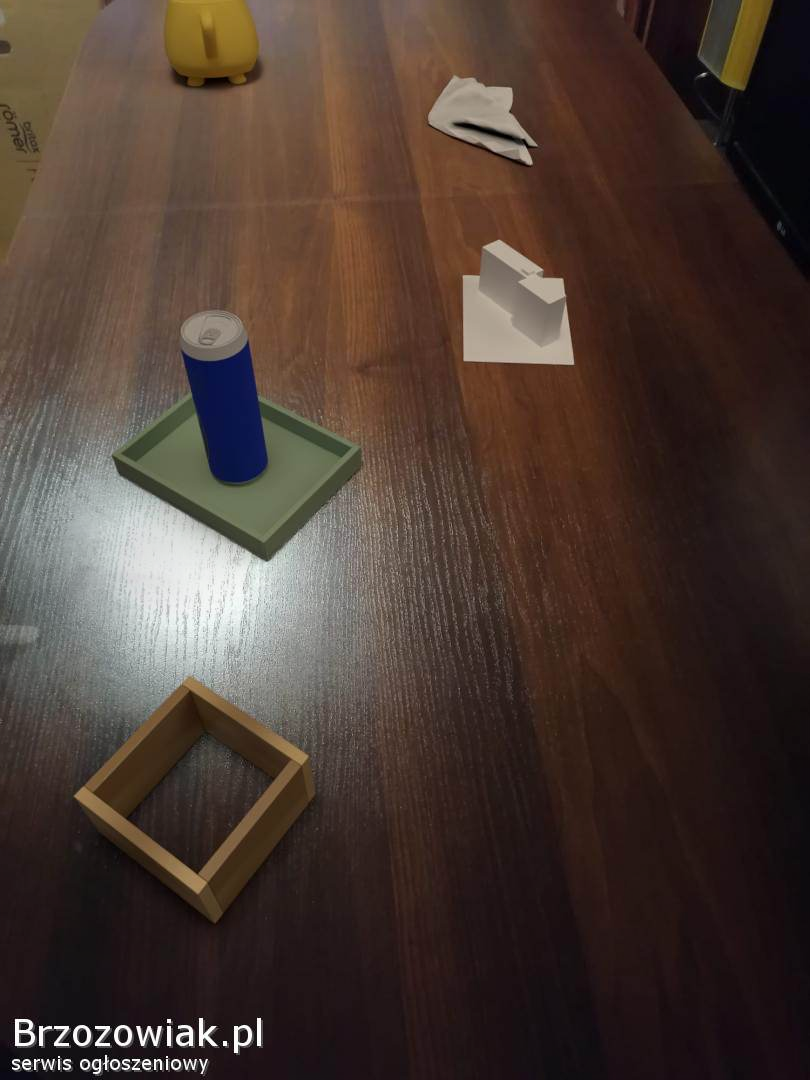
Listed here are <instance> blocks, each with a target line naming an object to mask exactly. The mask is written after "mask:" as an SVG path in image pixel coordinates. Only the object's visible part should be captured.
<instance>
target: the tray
mask: <svg viewBox="0 0 810 1080" xmlns="http://www.w3.org/2000/svg"><path fill="white" fill-rule="evenodd" d="M257 395H258V401H259V407H260V413H261V419H262V425H263V432H264V438H265V444H266V450H267V456H268V463H267V466H266V468H265V469H264V471H263V472H262V473H261V474H260V475H259V476H258V477H257V478H256V479H254V480H252V481H250V482H247V483H243V484H230V483H227V482H224V481H222V480H220V479H218V478H217V477H215V476H214V475H213V474H212V472H211V470H210V468H209V464H208V459H207V455H206V451H205V447H204V443H203V439H202V435H201V430H200V426H199V422H198V418H197V414H196V410H195V405H194V401H193V397H192V393H191V391H189V392H188V393H187V394H185V395H184V396H183V397H182V398H181V399H179V400H178V401H177V402H176V403H175V404H173V405H172V406H171V407H169V408H168V409H167V410H165V411H164V412H163V413H162V414H160V415H159V416H158V417H157V418H156V419H154V420H153V421H151V423H149V424H148V425H147V426H146V427H144V428H142V430H140V431H139V432H138V433H137V434H135V435H134V436H132V438H130V439H129V440H128V441H126V442H125V443H124V444H123V445H121V446H120V447H118V449H116V450H115V451H114V452H113V453H112V454H111V457H112V460H113V463H114V466H115V469H116V472H117V474H118V475H119V476H121V477H122V478H123V479H125V480H127V481H129V482H130V483H133V484H135V485H136V486H138V487H140V488H141V489H143V490H144V491H146V492H148V493H150V494H151V495H153V496H155V497H157V498H158V499H160V500H162V501H163V502H165V503H167V504H169V505H170V506H172V507H173V508H175V509H177V510H179V511H180V512H182V513H184V514H186V515H187V516H188V517H191V518H192V519H194V520H196V521H198V522H199V523H201V524H202V525H204V526H206V527H208V528H210V529H211V530H213V531H214V532H216V533H218V534H220V535H222V537H225V538H227V539H228V540H230V541H231V542H233V543H235V544H237V545H238V546H240V547H242V548H243V549H245V550H246V551H249V552H251V553H252V554H254V555H255V556H257V557H258V558H260V559H262V560H264V561H266V562H268V561H270V559H271V558H273V557H274V556H275V554H276V553H277V552H278V551H280V550H281V548H282V547H283V546H284V545H285V544H287V542H289V540H291V538H292V537H293V536H294V535H295V534H296V533H297V532H298V531H299V530H300V529H301V528H302V527H303V526H304V525H305V524H306V523H307V522H308V521H310V519H311V518H312V517H313V516H314V515H315V514H316V513H317V512H318V511H319V510H320V509H321V508H322V507H323V506H324V505H325V504H326V503H327V502H328V501H329V500H330V499H331V498H332V497H333V496H334V495H335V494H336V493H337V492H338V491H339V490H340V489H341V488H342V486H344V484H345V483H346V482H348V480H350V478H352V477H353V476H354V474H355V473H356V472H358V471H359V469H361V468H362V467H363V463H362V446H361V445H359V444H356V443H355V442H353V441H351V440H349V439H347V438H345V437H343V436H341V435H339V434H337V433H335V432H333V431H330V430H329V429H328V428H325V427H323V426H321V425H318V424H317V423H315V422H313V421H311V420H309V419H307V418H306V417H303V416H301V415H299V414H297V413H295V412H293V411H291V410H289V409H287V408H285V407H283V406H282V405H279V404H277V403H275V402H273V401H271V400H269V399H268V398H265V397H263V396H261V395H259V394H257Z"/></svg>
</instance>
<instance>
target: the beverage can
mask: <svg viewBox="0 0 810 1080" xmlns="http://www.w3.org/2000/svg"><path fill="white" fill-rule="evenodd" d="M179 346H180V351H181V355H182V360H183V364H184V368H185V372H186V376H187V380H188V385H189V387H190V392H191V393H192V397H193V401H194V405H195V410H196V414H197V418H198V422H199V426H200V430H201V435H202V439H203V443H204V447H205V451H206V455H207V459H208V464H209V468H210V470H211V472H212V474H213V475H214V476H215V477H217V478H218V479H220V480H222V481H224V482H227V483H230V484H243V483H247V482H250V481H252V480H254V479H256V478H257V477H258V476H259V475H260V474H261V473H262V472H263V471H264V469H265V468H266V466H267V463H268V456H267V450H266V444H265V438H264V432H263V425H262V419H261V413H260V407H259V401H258V395H259V394H258V389H257V383H256V376H255V372H254V370H255V369H254V365H253V359H252V352H251V351H252V350H251V345H250V341H249V334H248V331H247V329H246V328H245V326H244V324H243V322H242V321H241V319H240V318H239V317H238V316H237V315H235V314H233V313H231V312H229V311H225V310H219V309H217V310H216V309H215V310H213V309H212V310H205V311H201V312H198V313H196V314H193V315H192V316H190V317H189V318H187V319H186V320H184V322H183V323H182V326H181V328H180V335H179Z"/></svg>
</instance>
